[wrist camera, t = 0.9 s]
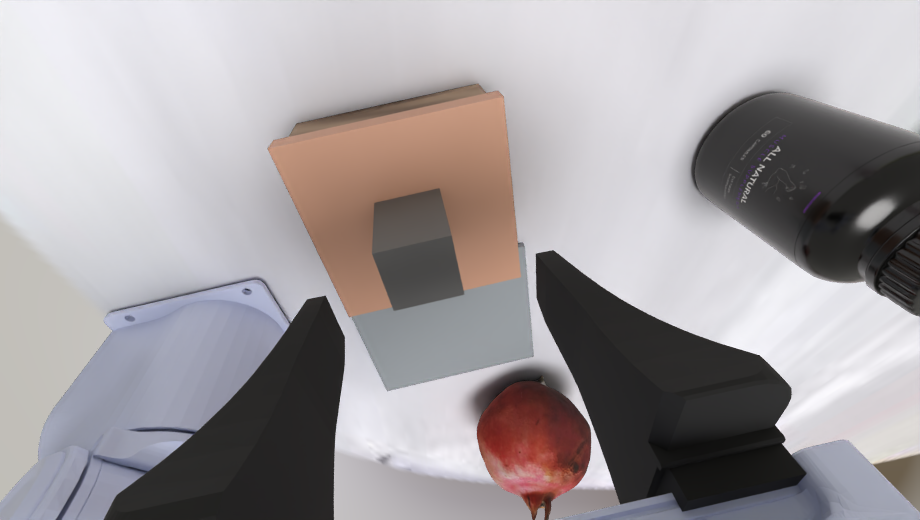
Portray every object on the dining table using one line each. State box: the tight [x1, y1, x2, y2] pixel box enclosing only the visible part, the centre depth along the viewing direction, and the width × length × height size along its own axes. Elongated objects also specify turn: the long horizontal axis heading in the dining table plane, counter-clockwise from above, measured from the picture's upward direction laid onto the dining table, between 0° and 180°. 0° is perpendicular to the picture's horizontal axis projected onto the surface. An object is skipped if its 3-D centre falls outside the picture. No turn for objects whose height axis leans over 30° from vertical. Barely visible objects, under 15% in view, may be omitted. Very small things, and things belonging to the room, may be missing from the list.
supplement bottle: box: [695, 93, 920, 317], centre depth 19 cm, size 7×7×12 cm
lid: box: [268, 91, 521, 317], centre depth 17 cm, size 10×10×5 cm
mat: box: [352, 243, 534, 391], centre depth 28 cm, size 12×11×1 cm
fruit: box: [477, 376, 591, 520], centre depth 31 cm, size 9×10×10 cm
